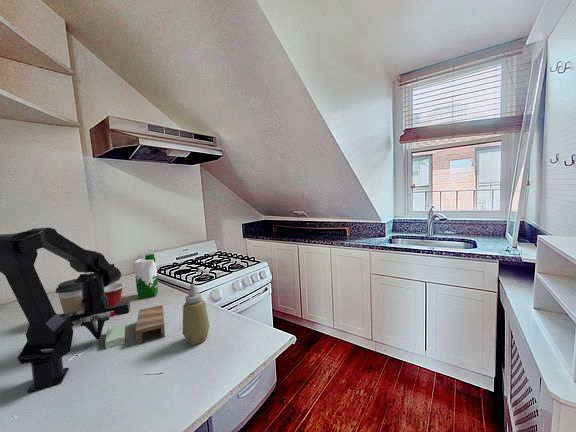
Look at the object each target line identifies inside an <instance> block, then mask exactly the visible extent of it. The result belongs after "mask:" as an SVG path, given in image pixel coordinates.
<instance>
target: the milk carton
mask: <svg viewBox="0 0 576 432" xmlns="http://www.w3.org/2000/svg"><path fill="white" fill-rule="evenodd" d="M133 265H134V276H135V286H136V287H135V288H136V292H137V297H138V300H143V299H144V300H145V299H150V298H155V297H156V296H157V294H158V293H159V280H158V279H159V278H158V268H157V267H158V266H157V257H156V256H155V253H148V254H144V257H143V258H138V259H137V260H135V261H134V262H133Z"/></svg>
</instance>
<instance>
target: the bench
mask: <svg viewBox="0 0 576 432" xmlns="http://www.w3.org/2000/svg"><path fill="white" fill-rule="evenodd" d="M137 313H138V314H137V321H136V327H135V338H136V345H141V344H143V341H144V340H143V333H146V332H149V331H154V330H158V329H160V335H161V338H165V337H166V331H165V317H164V316H165V315H164V305H163V304H161V305H156V306H151V307H146V308H142V309H138V312H137Z"/></svg>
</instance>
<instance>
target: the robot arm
mask: <svg viewBox="0 0 576 432" xmlns="http://www.w3.org/2000/svg"><path fill="white" fill-rule="evenodd" d="M39 249H44V250H45V251H46V250H47V251H48V252H49V253H53V254H55V256H56V255H57V256H58V257H60V258H62V259H64V260H65V261H67V262H69V266H70V267H71V268H72V269H73V270H74V271H76V272H77V273H79V276H78V277H77V278H75V279H76V280H75V283H81V290H82V306H83V307H84V313H80V314H77V312H76V311H73V312H68V313H56V311H55V309H54V307H53V305H52V303H51V301H50V299H49V296H48V293H47V291H46V290H45V287H44V286H43V283H42V281H41V278H40V276H39V274H38V272H37V269H36V268H35V264H36V260H37V258H38V250H39ZM0 273H1V274H2V275H4V276H5V279H6V281H7V282H8V285H9V286H10V288H11V290H12V293H13V294H14V297H15V298H16V300H17V302H18V305H19V306H20V309H21V310H22V312H23V314H24V316H25V318H26V320H27V323H28V327H27V330H26V332H25V337H26V338H25V339H26V343H25V344H24V346H23V348H22V349H21V351H20V353H19V354H18V356H17V361H18V363H19V364H20V365H24V364H30V367H31V375H32V382H31V384H30V386H29V387H28V388H27V390H26V391H27V392H26V393H32V392H35V391H38V390H43V389H46V388H49V387H52V386H55V385H58V384H61V383H63V381H64V379H65V377H66V375H67V373H68V372H69V370H70V367H64V362H63V357H64V356H66V355H67V354H68V353H69V352H71V349H72V345H73V344H72V343H73V337H74V328H73V327H74V323H73V322H72V321H74V322H77V321H76V320H78V321H80V325H79V326H80V327H85V328H86V329H87V330H88V331H89V332H90V333H91V335H93V337H94V338H95V339H96V340H97V341H98V340H100V339H101V338H102V337H101V336H102V333H103V329H104V325H105V323H106V321H109V320H110V318H111V317H110V315H111V313H113V312H115V314H116V315H115V316H122V315H126V314H129V313H130V310H131V302H130V300H123V301H122V300H121V302H117V303H116V305H115V306H113V307H109V308H106V307H107V306H108V296H106V295H105V292H104V287H106V286H108V285H110V284H112V283H117V282H118V281H119V280H120V279H121V278H122V272H121V271H120V269H119V268H118V267H116V266H115V263H109V261H108V260H107V259H106V258H105V255H104V254H102V253H101V252H98V251H96V250H95V251H94V250H89V249H85V248H83V247H82V246H80V245H78V244H76V242H73V241H71V239H69V238H66V237H65V236H64V235H62V234H60V233H58V232H57V230H56V229H55V228H53V227H38V228H37V227H36V228H35V227H34V228H32V229H28V230H25V231H21V232H15V233H6V234H5V233H3V234H0ZM80 273H81V274H80ZM96 317H99V318H98V319H97V322H96Z"/></svg>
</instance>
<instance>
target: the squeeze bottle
mask: <svg viewBox="0 0 576 432" xmlns="http://www.w3.org/2000/svg"><path fill="white" fill-rule="evenodd" d="M209 331H210V321H209V317H208V312H207V306H206V301H205V300H203V298H202V294H201V293H199V292H198V291H197V288H196V285H195V283H191V284H190V285H189V292H188V294H187V295H186V296H185V303H184V304H183V306H182V334H183V336H184V338H185V341H186V343H187V344H189V345H198V344H202V343H203V342H204V341H206V340H207V338H208V335H209Z"/></svg>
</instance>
